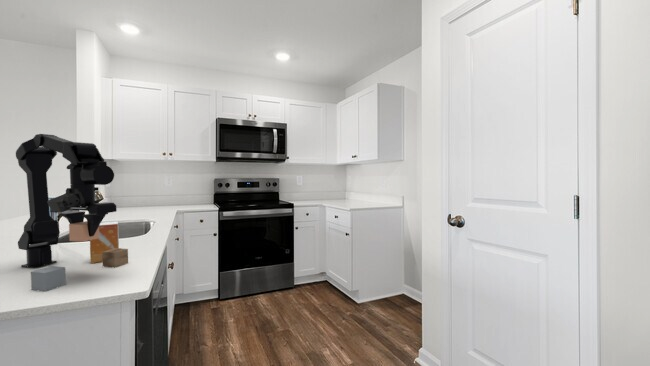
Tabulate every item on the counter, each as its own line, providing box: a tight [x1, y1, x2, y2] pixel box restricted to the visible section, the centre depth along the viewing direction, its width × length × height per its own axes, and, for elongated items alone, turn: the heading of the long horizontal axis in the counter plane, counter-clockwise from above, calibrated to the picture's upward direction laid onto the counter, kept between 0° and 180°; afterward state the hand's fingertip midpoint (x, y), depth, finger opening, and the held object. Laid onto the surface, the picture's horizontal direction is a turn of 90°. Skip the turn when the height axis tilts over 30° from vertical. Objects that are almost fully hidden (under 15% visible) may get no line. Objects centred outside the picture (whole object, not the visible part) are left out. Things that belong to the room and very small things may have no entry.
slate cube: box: [30, 265, 67, 293], centre depth 82 cm, size 5×5×5 cm
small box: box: [89, 221, 120, 264], centre depth 108 cm, size 8×6×13 cm
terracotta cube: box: [68, 220, 99, 243], centre depth 92 cm, size 5×5×5 cm
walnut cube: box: [102, 247, 129, 269], centre depth 102 cm, size 5×5×5 cm
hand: (84, 235), depth 92 cm, fingers closed on terracotta cube, 5 cm apart
